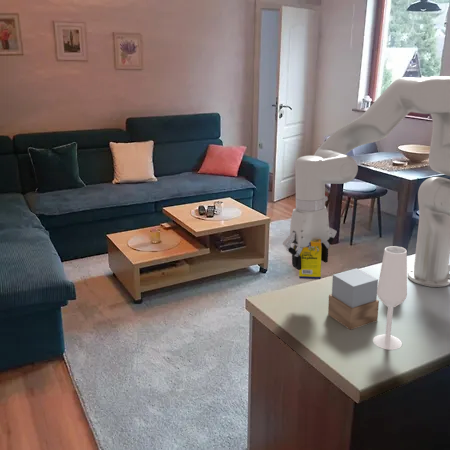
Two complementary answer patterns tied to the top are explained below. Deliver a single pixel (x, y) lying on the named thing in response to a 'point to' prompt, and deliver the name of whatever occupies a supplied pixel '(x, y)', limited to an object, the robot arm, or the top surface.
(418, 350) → the top surface
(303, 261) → the supplement box
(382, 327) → the top surface
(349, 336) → the top surface
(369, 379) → the top surface
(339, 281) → the tower top block
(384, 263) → the champagne flute
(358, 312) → the tower base block
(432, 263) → the robot arm
